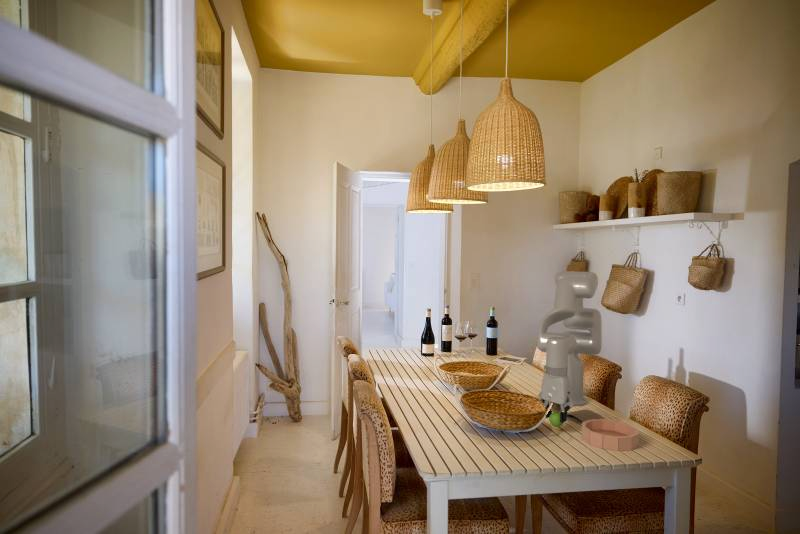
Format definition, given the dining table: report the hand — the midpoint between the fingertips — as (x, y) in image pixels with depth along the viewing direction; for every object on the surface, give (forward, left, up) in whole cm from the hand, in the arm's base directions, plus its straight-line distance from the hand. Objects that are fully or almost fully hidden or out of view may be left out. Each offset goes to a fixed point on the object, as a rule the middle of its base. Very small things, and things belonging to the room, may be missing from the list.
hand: (556, 419), depth 185 cm
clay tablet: (-22, -3, -6) cm, 23 cm away
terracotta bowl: (-8, +16, -5) cm, 19 cm away
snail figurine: (0, 0, -3) cm, 3 cm away
